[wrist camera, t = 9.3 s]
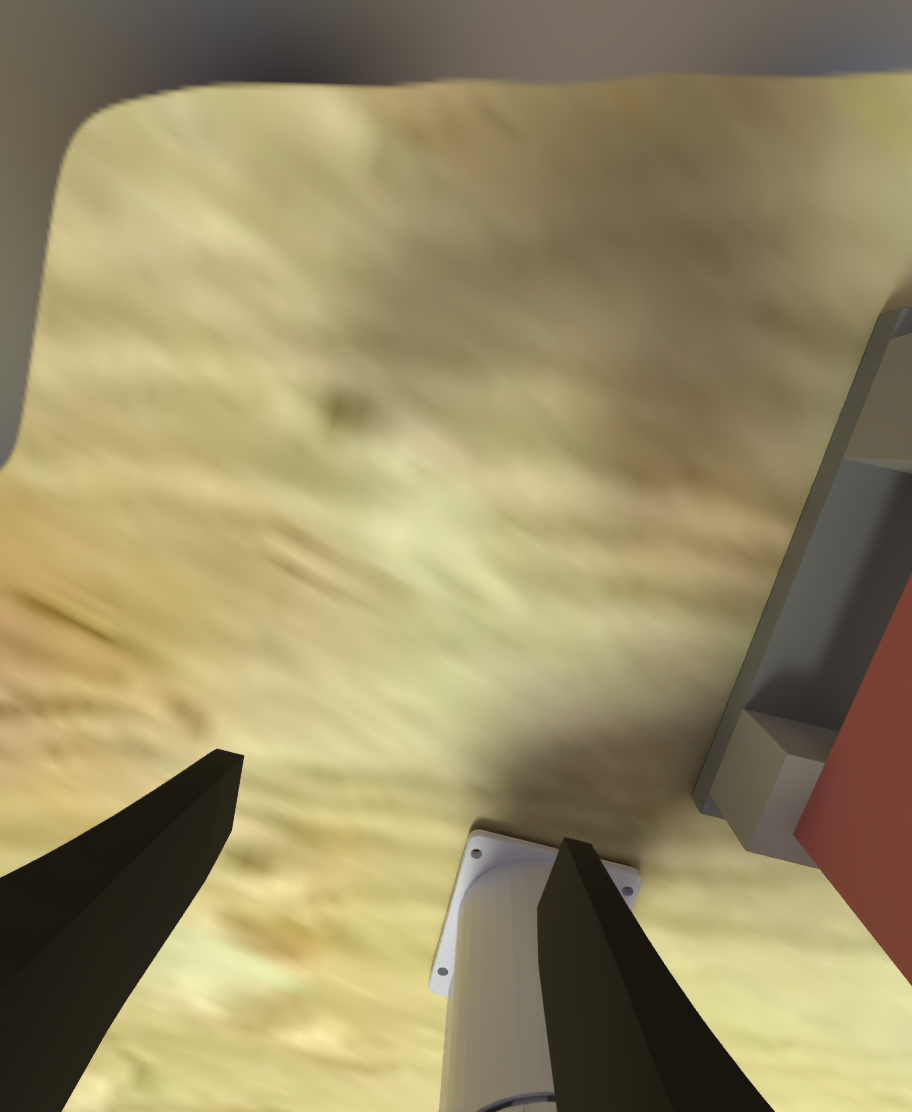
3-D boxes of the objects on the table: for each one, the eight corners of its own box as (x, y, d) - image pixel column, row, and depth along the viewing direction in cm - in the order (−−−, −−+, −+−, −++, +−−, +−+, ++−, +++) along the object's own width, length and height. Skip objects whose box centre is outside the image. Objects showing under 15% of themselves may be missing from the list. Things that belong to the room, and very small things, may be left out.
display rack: (825, 829, 21) (900, 914, 18) (691, 796, 22) (735, 873, 18) (1050, 353, 17) (1216, 325, 13) (879, 315, 17) (994, 275, 13)
